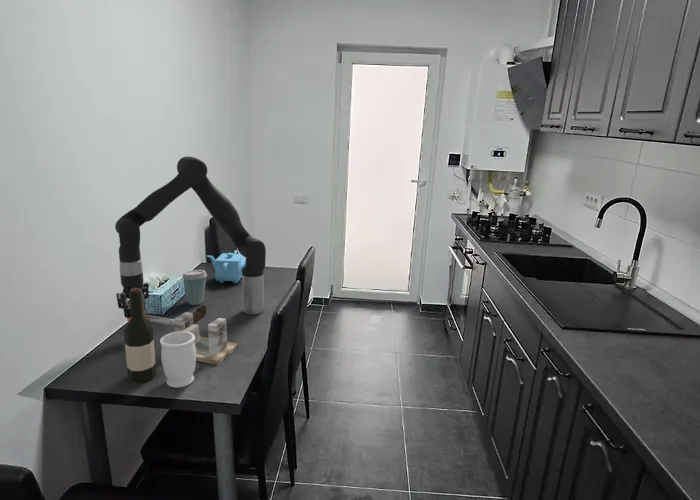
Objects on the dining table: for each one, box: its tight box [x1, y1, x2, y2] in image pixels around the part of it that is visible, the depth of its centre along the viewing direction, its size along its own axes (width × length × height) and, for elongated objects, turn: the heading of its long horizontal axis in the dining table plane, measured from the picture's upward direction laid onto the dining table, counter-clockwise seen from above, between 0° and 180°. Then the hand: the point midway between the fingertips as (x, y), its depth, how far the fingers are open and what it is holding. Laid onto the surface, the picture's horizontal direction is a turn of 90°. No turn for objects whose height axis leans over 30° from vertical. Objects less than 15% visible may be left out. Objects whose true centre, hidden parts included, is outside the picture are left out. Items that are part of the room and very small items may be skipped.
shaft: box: [126, 301, 186, 327], centre depth 170 cm, size 4×24×8 cm, turn 73°
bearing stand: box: [173, 311, 240, 366], centre depth 165 cm, size 14×22×12 cm, turn 73°
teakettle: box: [206, 249, 246, 284], centre depth 242 cm, size 19×19×15 cm
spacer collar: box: [183, 323, 200, 344], centre depth 167 cm, size 6×2×6 cm, turn 162°
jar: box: [159, 331, 197, 388], centre depth 145 cm, size 11×10×15 cm
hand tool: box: [192, 304, 208, 324], centre depth 191 cm, size 19×4×5 cm, turn 165°
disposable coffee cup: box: [182, 269, 208, 306], centre depth 210 cm, size 11×11×15 cm
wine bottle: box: [123, 288, 157, 383], centre depth 145 cm, size 8×8×30 cm
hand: (135, 314), depth 173 cm, fingers open, 6 cm apart
